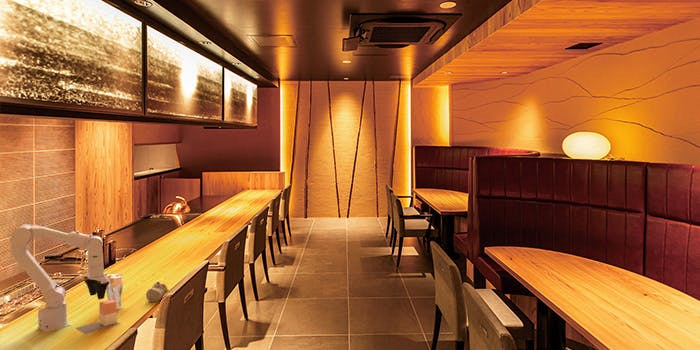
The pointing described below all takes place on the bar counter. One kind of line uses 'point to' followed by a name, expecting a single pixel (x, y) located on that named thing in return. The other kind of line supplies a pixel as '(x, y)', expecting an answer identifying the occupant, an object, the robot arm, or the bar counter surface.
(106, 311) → the terracotta block
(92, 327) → the baseplate
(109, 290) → the beer glass
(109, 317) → the cream block
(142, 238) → the bar counter surface
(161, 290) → the ceramic sculpture
